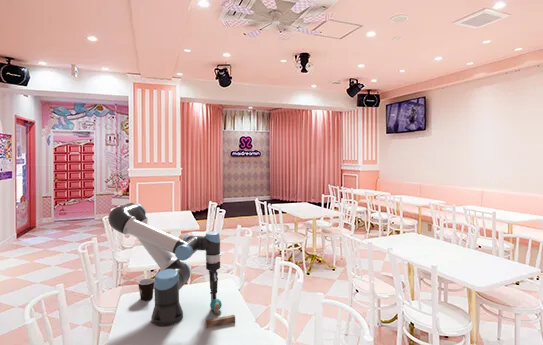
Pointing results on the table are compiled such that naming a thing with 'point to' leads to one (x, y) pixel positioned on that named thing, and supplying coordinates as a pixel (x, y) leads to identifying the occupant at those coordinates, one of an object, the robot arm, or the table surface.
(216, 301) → the ball
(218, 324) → the back wall
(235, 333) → the table surface
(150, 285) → the coffee mug
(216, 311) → the pin
